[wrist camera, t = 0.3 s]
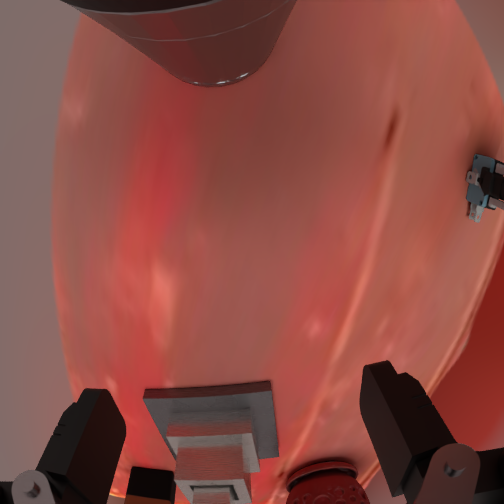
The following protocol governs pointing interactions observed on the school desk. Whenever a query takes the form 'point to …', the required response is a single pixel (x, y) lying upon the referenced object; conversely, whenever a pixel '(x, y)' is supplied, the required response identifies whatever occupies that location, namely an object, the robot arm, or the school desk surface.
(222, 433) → the stand base
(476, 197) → the push button
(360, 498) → the plant pot
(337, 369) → the school desk surface
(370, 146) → the school desk surface
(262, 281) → the school desk surface
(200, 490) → the column
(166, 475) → the battery
